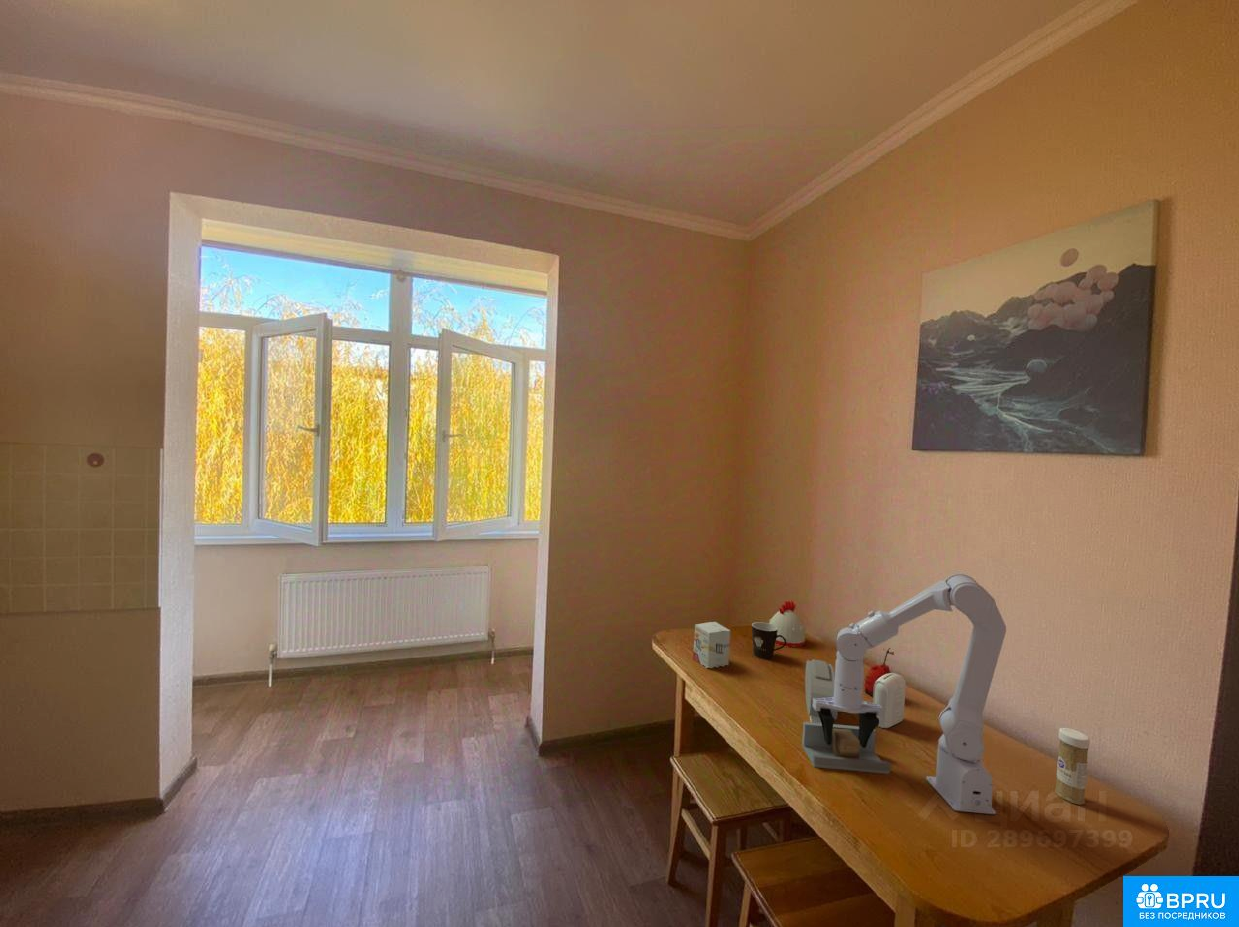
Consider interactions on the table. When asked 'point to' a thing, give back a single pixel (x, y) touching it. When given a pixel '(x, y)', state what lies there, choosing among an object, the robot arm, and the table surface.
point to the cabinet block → (845, 744)
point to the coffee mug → (765, 639)
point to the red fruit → (876, 674)
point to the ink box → (711, 644)
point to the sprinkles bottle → (1072, 765)
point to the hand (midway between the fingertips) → (844, 743)
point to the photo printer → (890, 699)
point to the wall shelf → (825, 757)
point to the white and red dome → (788, 626)
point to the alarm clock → (818, 685)
